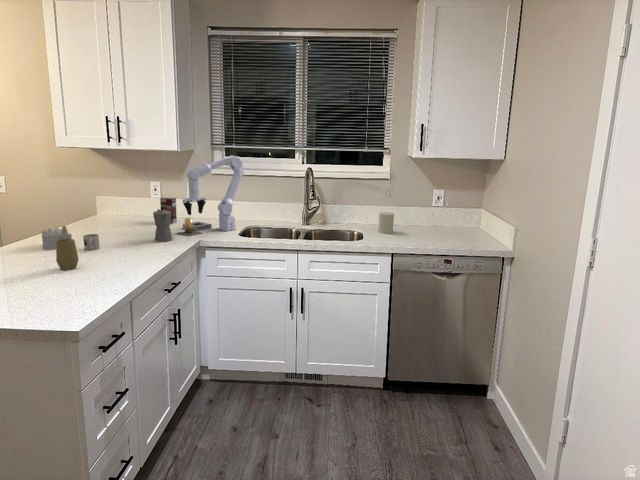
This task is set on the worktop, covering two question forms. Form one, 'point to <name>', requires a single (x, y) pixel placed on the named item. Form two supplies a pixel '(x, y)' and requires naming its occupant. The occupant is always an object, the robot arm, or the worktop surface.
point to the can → (386, 222)
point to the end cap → (188, 225)
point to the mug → (91, 242)
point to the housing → (200, 226)
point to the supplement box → (169, 207)
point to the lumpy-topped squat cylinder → (50, 238)
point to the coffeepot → (162, 225)
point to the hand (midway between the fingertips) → (195, 214)
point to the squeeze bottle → (66, 251)
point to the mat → (190, 233)
